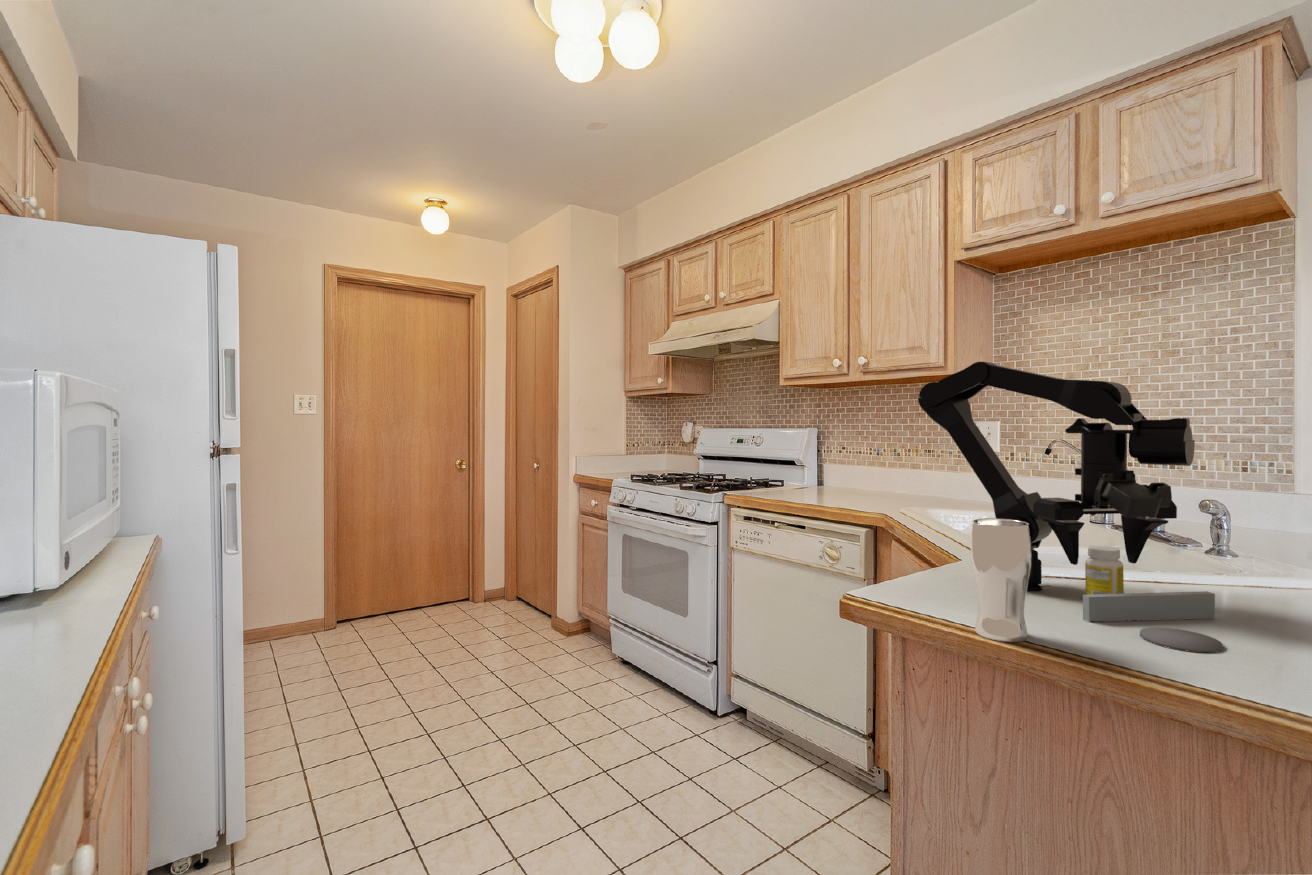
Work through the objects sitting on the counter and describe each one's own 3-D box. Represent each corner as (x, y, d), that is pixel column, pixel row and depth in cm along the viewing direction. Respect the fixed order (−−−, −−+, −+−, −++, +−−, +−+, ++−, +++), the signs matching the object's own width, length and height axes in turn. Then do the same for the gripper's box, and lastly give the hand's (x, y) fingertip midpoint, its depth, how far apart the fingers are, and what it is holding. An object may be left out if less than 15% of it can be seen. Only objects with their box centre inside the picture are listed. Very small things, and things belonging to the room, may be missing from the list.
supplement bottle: (1110, 597, 96) (1110, 544, 96) (1131, 606, 92) (1131, 551, 92) (1078, 597, 97) (1078, 544, 97) (1097, 606, 92) (1097, 551, 92)
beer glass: (959, 630, 83) (959, 520, 83) (995, 622, 86) (994, 516, 85) (1007, 647, 77) (1006, 528, 76) (1044, 638, 79) (1043, 523, 79)
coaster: (1162, 650, 74) (1162, 647, 74) (1127, 628, 82) (1127, 625, 82) (1239, 654, 73) (1239, 651, 73) (1196, 631, 81) (1196, 628, 81)
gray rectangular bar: (1089, 621, 85) (1089, 597, 85) (1082, 619, 86) (1082, 594, 86) (1214, 618, 86) (1214, 593, 86) (1206, 615, 87) (1206, 591, 87)
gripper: (1081, 468, 86) (1081, 578, 86) (1211, 465, 86) (1210, 575, 86) (1031, 462, 97) (1031, 560, 97) (1146, 460, 97) (1145, 557, 98)
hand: (1103, 563), depth 94 cm, fingers open, 9 cm apart
